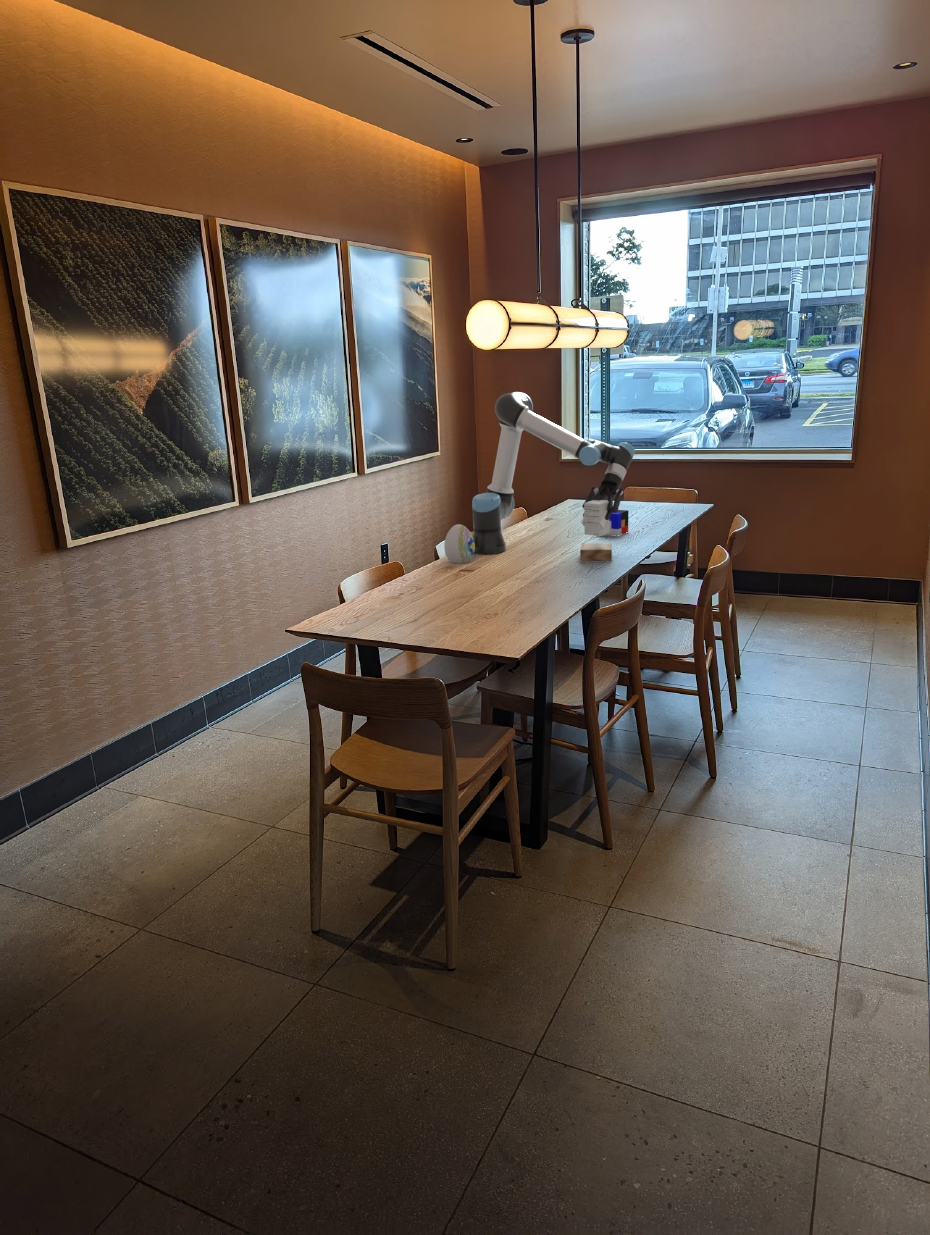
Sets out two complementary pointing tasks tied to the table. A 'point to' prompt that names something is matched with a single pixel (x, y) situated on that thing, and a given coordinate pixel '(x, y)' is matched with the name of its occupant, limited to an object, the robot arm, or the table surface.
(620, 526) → the puzzle toy
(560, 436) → the robot arm
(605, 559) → the walnut box
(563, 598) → the table surface
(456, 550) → the decorative egg
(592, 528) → the supplement box
